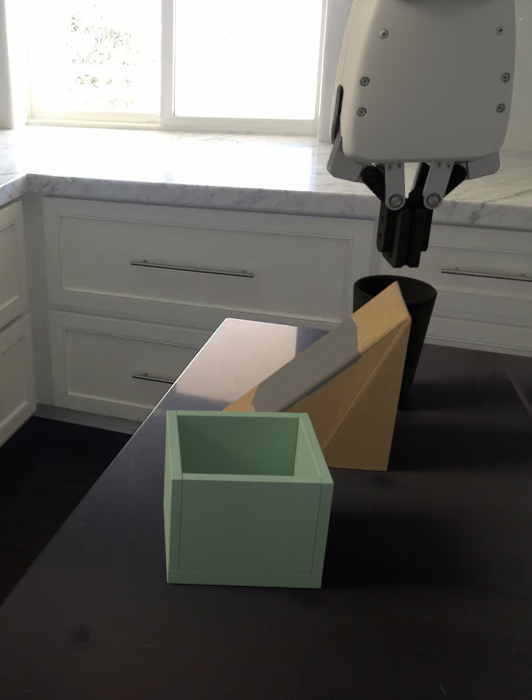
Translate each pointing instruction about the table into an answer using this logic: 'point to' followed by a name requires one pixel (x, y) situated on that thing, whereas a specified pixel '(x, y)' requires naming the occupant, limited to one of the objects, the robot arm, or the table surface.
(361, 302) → the cup
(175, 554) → the bin
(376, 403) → the sandwich container
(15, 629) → the table surface
